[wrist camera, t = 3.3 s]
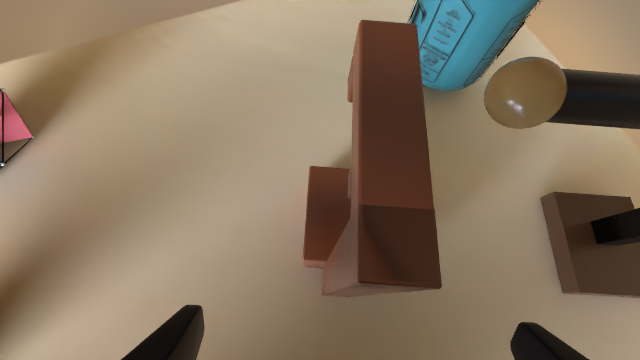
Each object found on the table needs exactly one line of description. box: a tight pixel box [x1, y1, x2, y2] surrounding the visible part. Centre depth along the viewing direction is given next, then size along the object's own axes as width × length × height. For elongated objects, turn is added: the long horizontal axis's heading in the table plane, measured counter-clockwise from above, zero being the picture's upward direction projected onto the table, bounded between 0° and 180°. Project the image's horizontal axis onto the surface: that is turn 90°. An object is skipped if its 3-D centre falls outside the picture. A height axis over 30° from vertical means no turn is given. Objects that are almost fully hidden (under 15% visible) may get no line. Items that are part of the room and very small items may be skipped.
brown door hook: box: [303, 20, 442, 297], centre depth 13 cm, size 7×4×12 cm, turn 177°
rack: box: [484, 57, 640, 298], centre depth 12 cm, size 6×16×14 cm, turn 87°
